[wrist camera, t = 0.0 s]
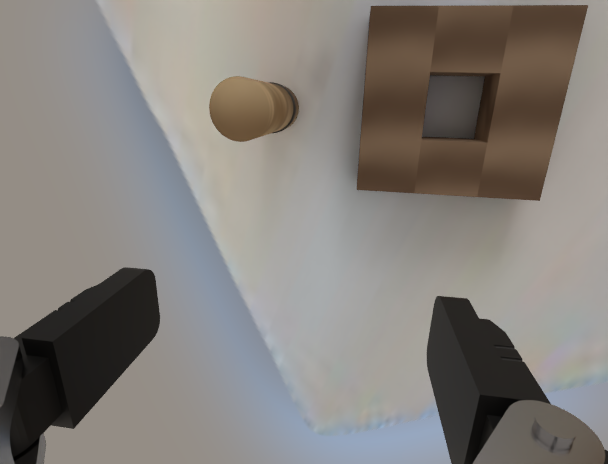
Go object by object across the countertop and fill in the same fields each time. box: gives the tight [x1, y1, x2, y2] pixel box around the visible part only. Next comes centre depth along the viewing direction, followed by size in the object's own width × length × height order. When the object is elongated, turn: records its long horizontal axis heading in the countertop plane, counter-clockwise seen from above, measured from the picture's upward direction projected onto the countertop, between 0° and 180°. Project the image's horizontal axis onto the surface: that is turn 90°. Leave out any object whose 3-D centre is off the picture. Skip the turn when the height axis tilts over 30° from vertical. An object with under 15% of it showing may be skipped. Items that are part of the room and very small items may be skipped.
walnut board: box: [357, 5, 588, 201], centre depth 33 cm, size 15×16×4 cm
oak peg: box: [209, 76, 299, 142], centre depth 30 cm, size 4×4×14 cm
